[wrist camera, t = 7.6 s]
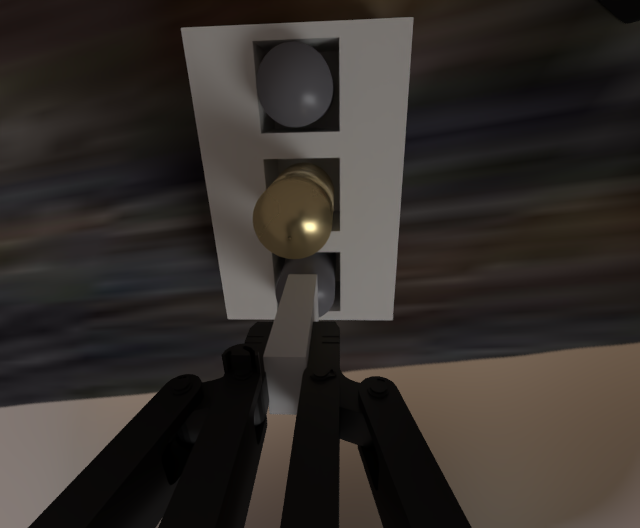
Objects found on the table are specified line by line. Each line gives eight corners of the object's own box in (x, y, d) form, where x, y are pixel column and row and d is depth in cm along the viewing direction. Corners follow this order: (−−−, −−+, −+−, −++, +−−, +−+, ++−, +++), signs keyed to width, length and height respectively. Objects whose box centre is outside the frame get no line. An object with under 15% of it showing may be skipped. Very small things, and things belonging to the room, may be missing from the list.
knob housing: (396, 38, 19) (413, 17, 14) (383, 281, 25) (392, 320, 21) (217, 46, 20) (180, 27, 15) (247, 281, 26) (227, 319, 21)
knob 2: (335, 234, 23) (334, 268, 18) (336, 278, 24) (334, 320, 19) (287, 234, 23) (273, 268, 18) (290, 278, 24) (277, 319, 19)
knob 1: (333, 57, 18) (331, 39, 14) (334, 121, 20) (332, 126, 15) (274, 59, 19) (252, 43, 14) (279, 123, 20) (260, 128, 15)
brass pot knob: (334, 161, 18) (331, 181, 13) (334, 221, 19) (332, 258, 14) (272, 163, 18) (248, 182, 13) (277, 222, 19) (256, 259, 15)
